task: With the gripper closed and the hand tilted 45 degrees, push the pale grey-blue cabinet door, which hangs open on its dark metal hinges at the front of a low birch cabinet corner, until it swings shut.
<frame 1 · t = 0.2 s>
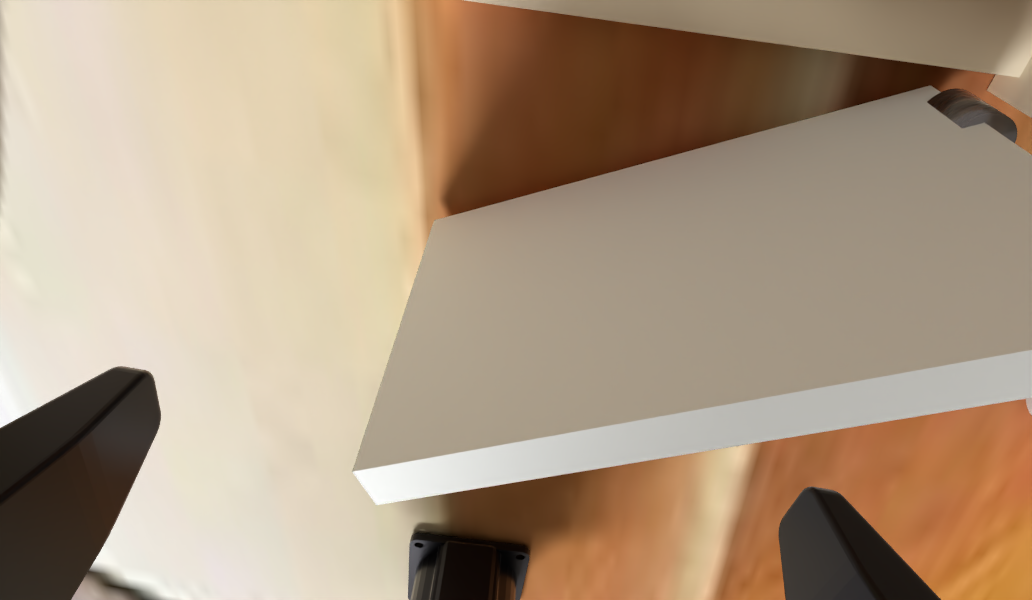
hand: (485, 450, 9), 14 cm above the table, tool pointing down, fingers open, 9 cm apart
cabinet corner: (922, 98, 20), on the table
cabinet door: (706, 263, 17), point 6 cm above the table, hinge at 25.0°
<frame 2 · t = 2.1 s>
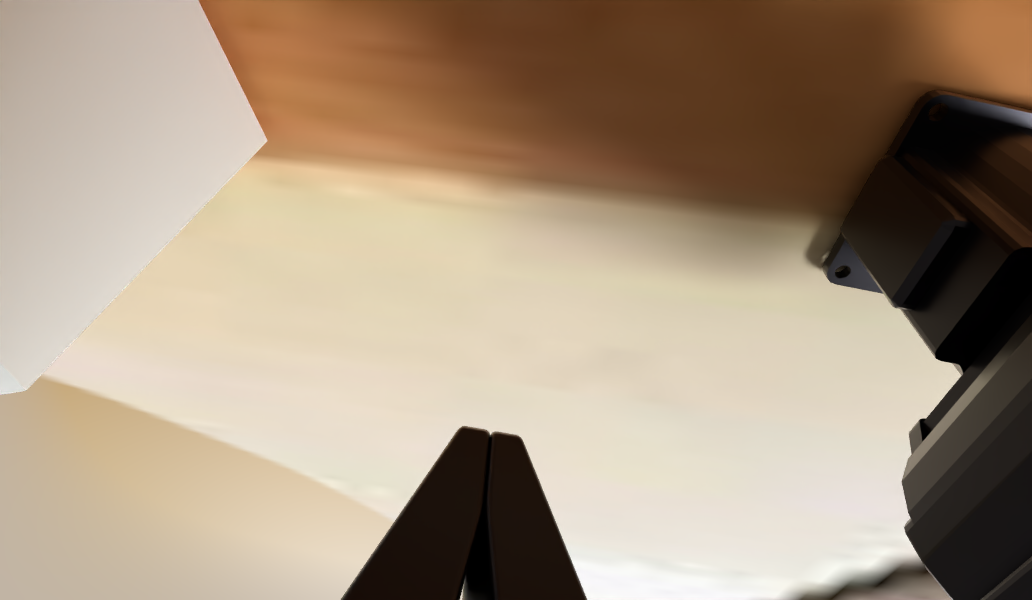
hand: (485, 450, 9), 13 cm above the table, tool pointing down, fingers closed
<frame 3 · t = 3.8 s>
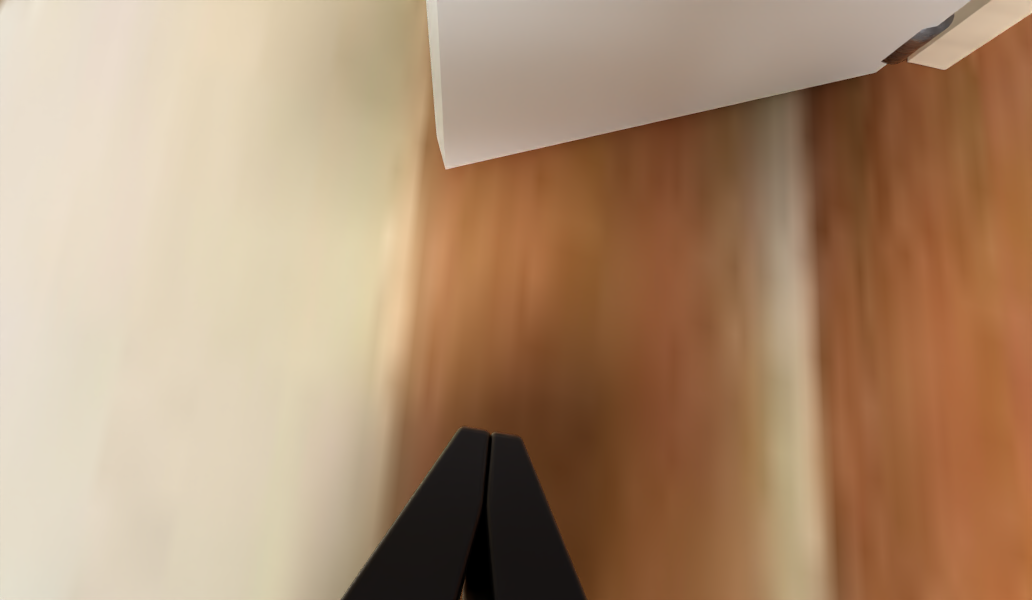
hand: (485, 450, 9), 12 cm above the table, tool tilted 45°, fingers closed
cabinet corner: (861, 64, 24), on the table
cabinet door: (746, 7, 17), point 6 cm above the table, hinge at 25.0°
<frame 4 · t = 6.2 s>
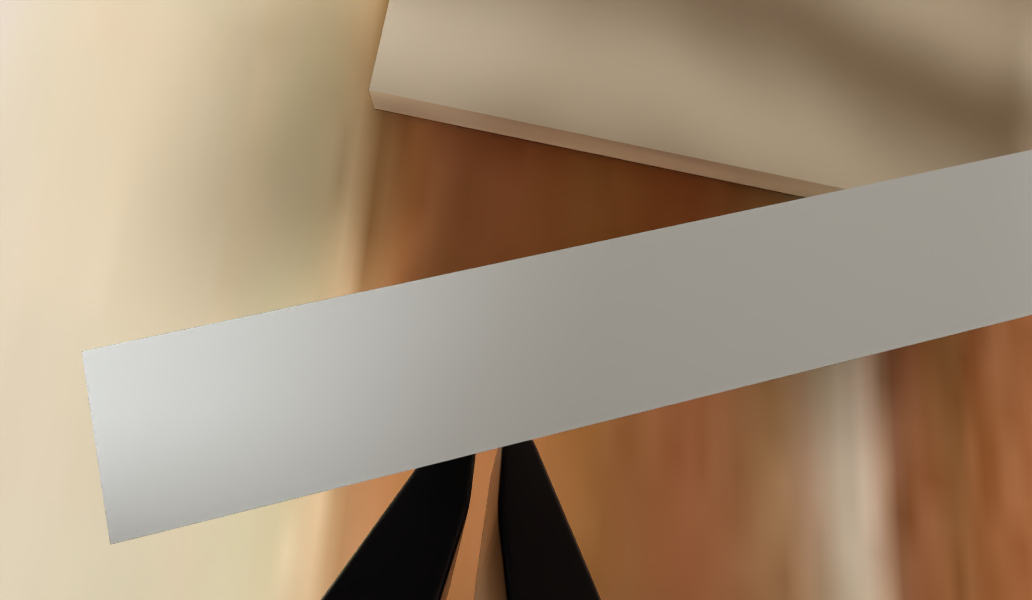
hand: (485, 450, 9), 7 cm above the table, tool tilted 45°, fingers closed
cabinet corner: (954, 270, 17), on the table
cabinet door: (824, 295, 10), point 6 cm above the table, hinge at 23.3°, touching gripper
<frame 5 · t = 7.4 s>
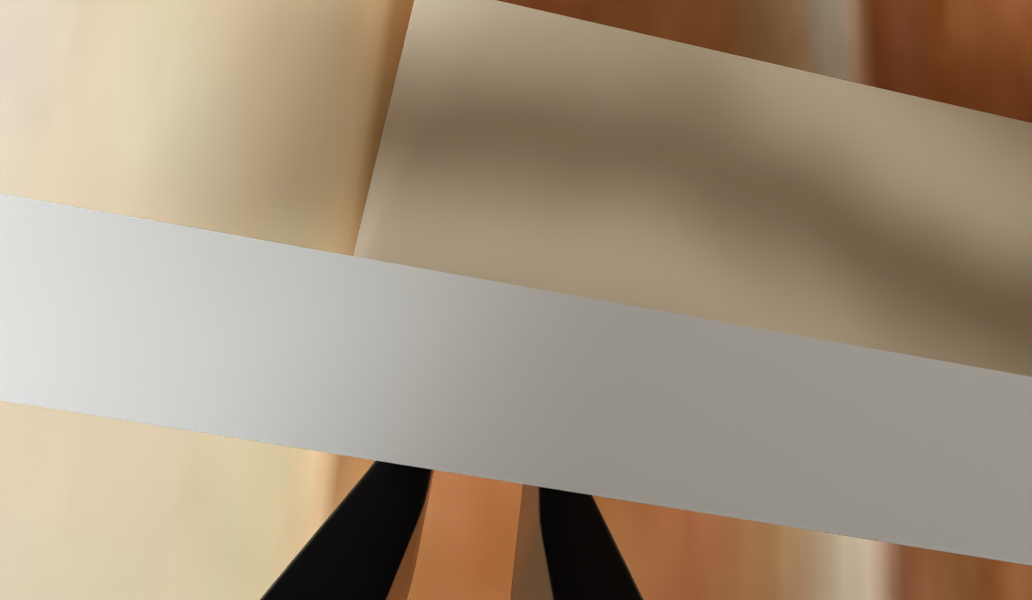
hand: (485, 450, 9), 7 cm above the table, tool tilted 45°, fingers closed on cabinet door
cabinet corner: (974, 472, 16), on the table
cabinet door: (813, 442, 10), point 6 cm above the table, hinge at 1.6°, touching gripper
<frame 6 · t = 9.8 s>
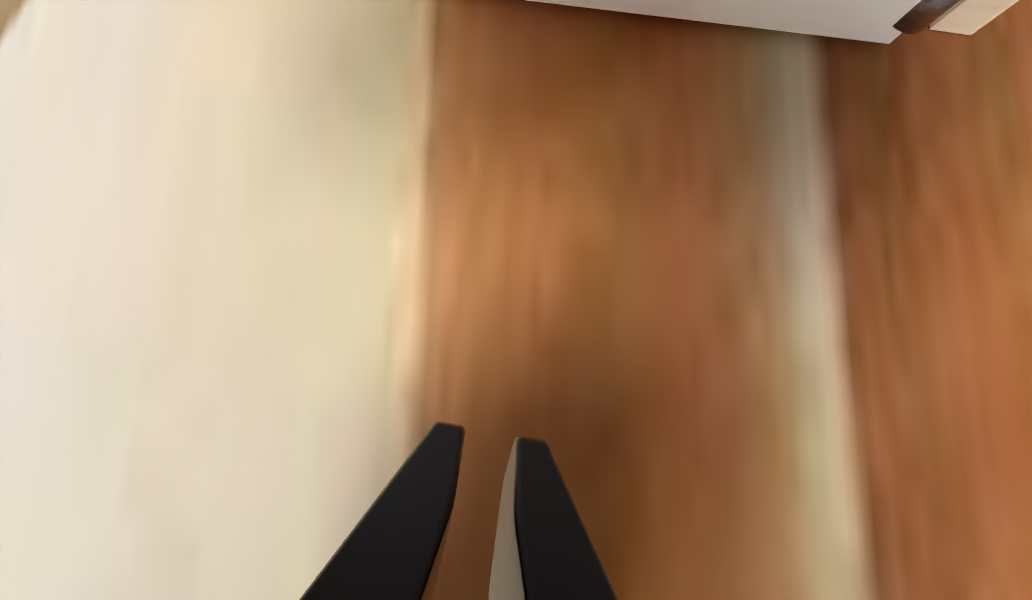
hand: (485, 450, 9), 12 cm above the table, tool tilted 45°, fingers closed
cabinet corner: (880, 35, 23), on the table
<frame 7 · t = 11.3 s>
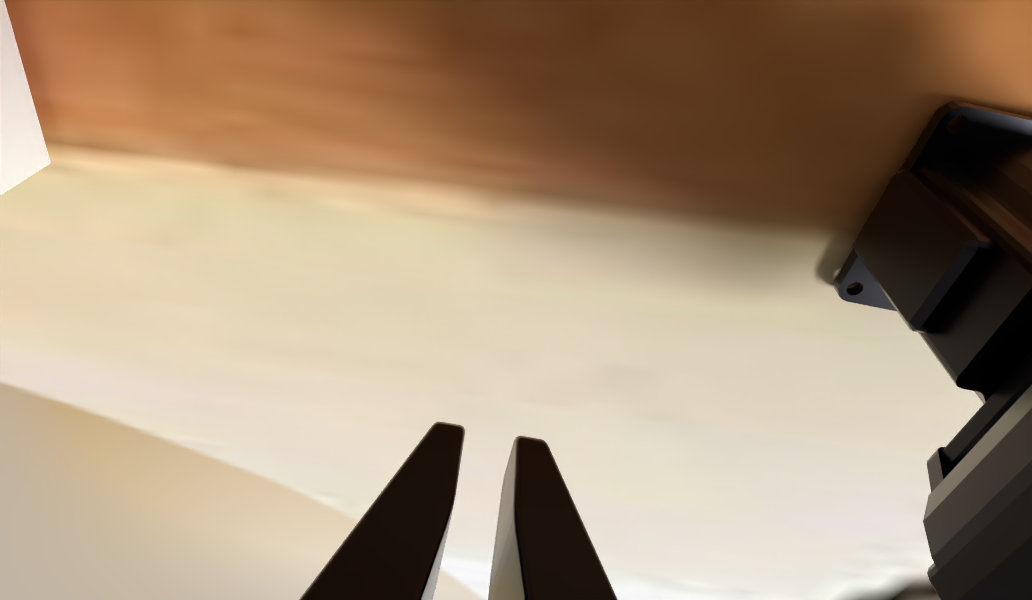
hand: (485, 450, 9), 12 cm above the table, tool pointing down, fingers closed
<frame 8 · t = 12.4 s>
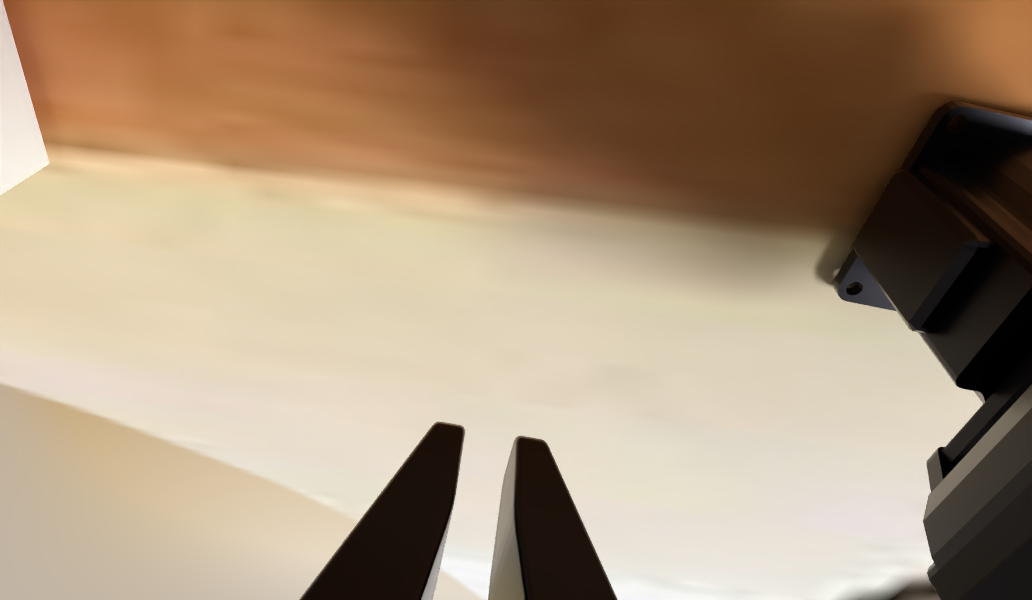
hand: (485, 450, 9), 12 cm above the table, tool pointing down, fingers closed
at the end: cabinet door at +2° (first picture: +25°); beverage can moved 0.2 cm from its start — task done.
